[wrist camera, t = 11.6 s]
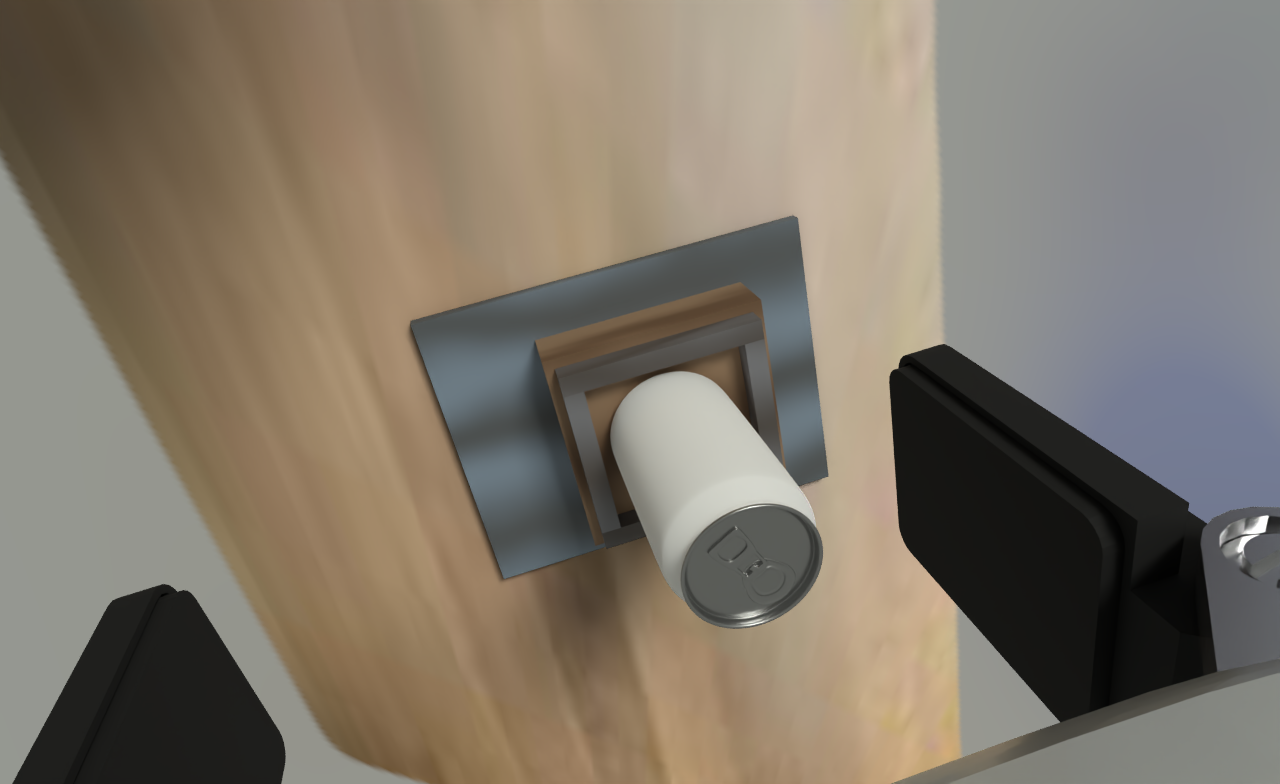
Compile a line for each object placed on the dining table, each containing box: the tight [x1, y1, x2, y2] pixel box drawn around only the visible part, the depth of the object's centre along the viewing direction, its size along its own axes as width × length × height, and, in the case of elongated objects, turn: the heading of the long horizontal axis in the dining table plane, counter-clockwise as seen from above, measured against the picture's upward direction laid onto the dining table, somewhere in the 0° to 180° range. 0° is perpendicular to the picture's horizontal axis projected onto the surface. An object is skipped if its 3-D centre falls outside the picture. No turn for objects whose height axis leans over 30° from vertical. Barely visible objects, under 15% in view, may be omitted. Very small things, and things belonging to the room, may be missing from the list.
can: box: [610, 371, 823, 629], centre depth 35 cm, size 6×6×12 cm
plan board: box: [411, 216, 828, 579], centre depth 41 cm, size 16×20×5 cm
